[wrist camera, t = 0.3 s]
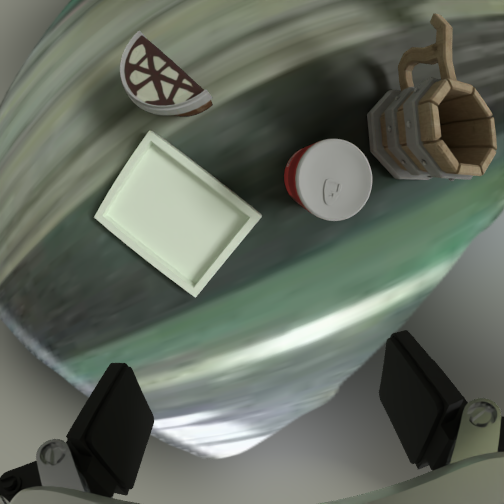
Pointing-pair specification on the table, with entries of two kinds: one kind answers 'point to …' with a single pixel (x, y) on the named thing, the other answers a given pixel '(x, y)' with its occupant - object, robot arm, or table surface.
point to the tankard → (432, 120)
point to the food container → (159, 81)
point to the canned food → (329, 179)
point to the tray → (175, 214)
